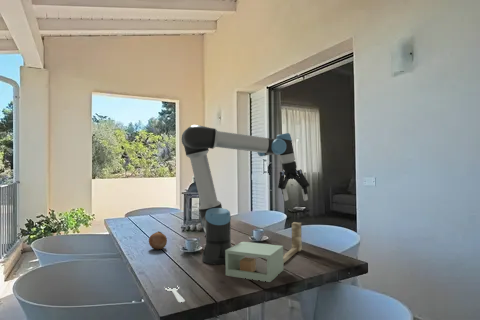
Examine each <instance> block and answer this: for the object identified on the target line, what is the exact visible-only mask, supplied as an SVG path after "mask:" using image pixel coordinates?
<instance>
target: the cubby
mask: <svg viewBox="0 0 480 320" xmlns="http://www.w3.org/2000/svg"><path fill="white" fill-rule="evenodd" d="M283 255H284V245H277V244H267V243H259V242H250V241H241V242H238V243H237V244H235V245H232V247H231V248H229V249H227V250H225V276H228V277H233V278H240V279H241V278H242V279H245V278H246V279H247V280H252V279H253V280H254V281H258V280H260V281H259V282H265V281H266V283H271V282H272V281H273V280H274V279H275V278H276V277H277V276H278V274H279V275H280V274H281V273H282V272H283V271H284V264H283ZM245 257H251V258H262V259H266V273H262V272H255V271H254V272H248V271H241V270H240V260H241V259H243V258H245ZM246 279H245V280H246ZM253 280H252V281H253Z"/></svg>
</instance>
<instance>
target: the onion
mask: <svg viewBox="0 0 480 320" xmlns="http://www.w3.org/2000/svg"><path fill="white" fill-rule="evenodd" d="M167 242H168V239H167V236H166V235H165V234H164V233H163V232H162V231H157V232H155V233H152V234H151V235H150V236H149V238H148V244H149V246H150V247H151V248H152V250H155V251H158V250H159V249H160V250H162V249H164V248H165V247H166V245H167V244H168V243H167Z"/></svg>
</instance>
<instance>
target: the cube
mask: <svg viewBox="0 0 480 320" xmlns="http://www.w3.org/2000/svg"><path fill="white" fill-rule="evenodd" d="M256 261H257V260H256V258H255V257H247V256H245V258H243V259H241V260H240V268H239V270H241V271H248V272H255V271H256V269H257V266H256V263H257V262H256Z"/></svg>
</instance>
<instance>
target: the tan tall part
mask: <svg viewBox="0 0 480 320" xmlns="http://www.w3.org/2000/svg"><path fill="white" fill-rule="evenodd" d="M302 241H303V240H302V222H300V221H299V222H296V221H293V222H292V223H291V248H290V249H289V250H288V251H286V252H285V253H283V265H284V263H286V262H287V261H289V259H291V258H292V256H294V255H295V254H296V253H297V252H300V253H301V251H302V248H303V247H302V245H303V243H302Z"/></svg>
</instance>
